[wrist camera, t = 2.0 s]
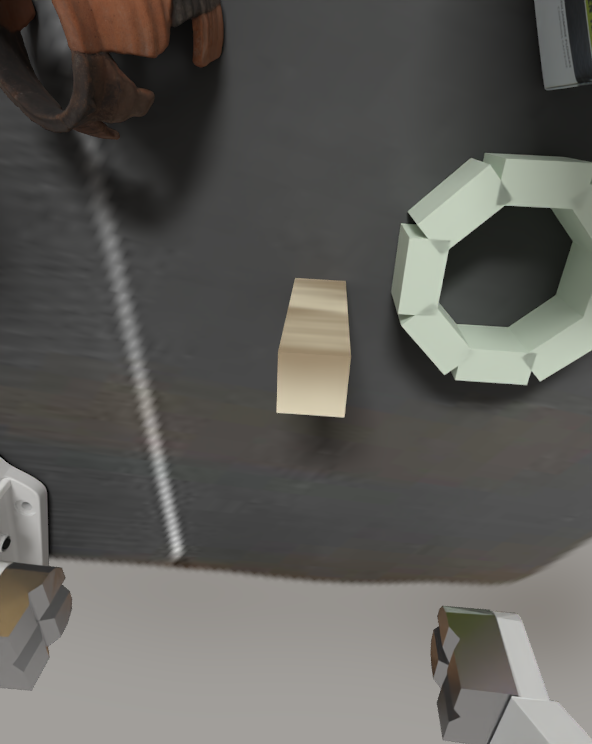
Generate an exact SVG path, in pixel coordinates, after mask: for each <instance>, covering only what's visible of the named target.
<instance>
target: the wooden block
mask: <svg viewBox="0 0 592 744" xmlns="http://www.w3.org/2000/svg"><path fill="white" fill-rule="evenodd" d="M350 361H351V351H350V337H349V322H348V308H347V294H346V281H335V280H318V279H302V278H295V281H294V286H293V290H292V294H291V299H290V303H289V307H288V312H287V316H286V320H285V325H284V329H283V333H282V338H281V342H280V346H279V351H278V380H277V413H289V414H303V415H317V416H330V417H344V416H345V407H346V398H347V389H348V379H349V370H350Z"/></svg>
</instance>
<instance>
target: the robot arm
mask: <svg viewBox="0 0 592 744" xmlns="http://www.w3.org/2000/svg"><path fill="white" fill-rule="evenodd" d="M64 580H65V575H64V572H63V570H62V568H60V567H51V566H49V549H48V506H47V490H46V488H45V486H44V485H43V484H42V483H41V482H40V481H38V480H37V479H35V478H34V477H32V476H30V475H29V474H27V473H25V472H23V471H21V470H19V469H17V468H15V467H13V466H11V465H10V464H8V463H7V462H6V461H5V460H3V459H2V458H1V457H0V688H8V689H20V690H32V689H33V687H34V685H35V683H36V681H37V680H38V678H39V676H40V674H41V672H42V671H43V669H44V667H45V665H46V663H47V661H48V660H49V650H48V646H49V645H51V644H52V643H53V642H55V641H56V640H57V639H58V638H60V637H61V635H62V633H63V632H64V630H65V628H66V626H67V624H68V621H69V617H70V613H71V609H72V597H71V594H70V591H69V590H68V589H67V588H65V587H64V586H63V585H62V583H63V581H64ZM437 617H438V623H439V627H437V628H436V629H434V630H433V635H432V639H431V666H432V673H433V679H434V680H435V682H436V683H437V684H438V685H439V687H440V688H441V691H440V694H439V697H438V700H437V707H438V713H439V719H440V725H441V732H442V738H443V740H445V741H452V742H459V743H465V744H592V738H591V737H590V736H589V735H588V734H587V733H586V732H585V731H584V730H583V729H582V727H581V726H580V725H579V724H578V723H577V722H576V721H575V720H574V719H573V717H572V716H571V715H570V714H569V713H568V712H567V711H566V710H565V709H564V708H563V706H562V705H561V704H560V703H559V702H558V701H552V700H550V699H549V696H548V694H547V690H546V688H545V685H544V682H543V679H542V676H541V673H540V670H539V667H538V665H537V662H536V659H535V656H534V653H533V650H532V648H531V644H530V642H529V639H528V636H527V633H526V630H525V627H524V624H523V622H522V619H521V618H520V616H519V615H518V614H516V613H511V612H498V611H490V610H486V609H474V608H462V607H449V606H442V607H441V608H440V609H439V612H438V616H437Z"/></svg>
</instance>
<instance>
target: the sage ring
mask: <svg viewBox="0 0 592 744" xmlns="http://www.w3.org/2000/svg"><path fill="white" fill-rule="evenodd" d="M504 206H523V207H542V208H551V209H552V211H553V212H554V214H555V215H556V217H557V218H558V220H559V221H560V223H561V224H562V226H563V227H564V229H565V230H566V232H567V233H568V235H569V236H570V238H571V240H572V241H573V242H572V245H571V248H570V251H569V255H568V258H567V261H566V264H565V267H564V270H563V274H562V277H561V280H560V283H559V286H558V289H557V293H556V295H555V296H554V297H552V298H551V299H549V300H548V301H546V302H545V303H543V304H542V305H540V306H539V307H537V308H536V309H534V310H533V311H531V312H530V313H528V314H527V315H525V316H524V317H522V318H521V319H519V320H518V321H517V322H515V323H514V324H512V325H511V326H509V327H496V326H481V325H465V324H456V323H455V322H454V321H453V319H452V318H451V317H450V316H449V314H448V313H447V312H446V311H445V310H444V308H443V307H442V306H441V305H440V303H439V298H440V293H441V287H442V282H443V277H444V272H445V267H446V262H447V257H448V251H449V249H450V248H451V247H453V246H454V245H455V244H456V243H458V242H459V241H460V240H462V239H463V238H464V237H465V236H467V235H468V234H469V233H471V232H472V231H473V230H474V229H476V228H477V227H478V226H479V225H481V224H482V223H483V222H485V221H486V220H487V219H488V218H490V217H491V216H492V215H494V214H495V213H496V212H497V211H499V210H500V209H501V208H503V207H504ZM408 213H409V214H410V216H411V217H412V218H413V220H414V221H415V222H416V224H403V223H401V226H400V233H399V240H398V247H397V254H396V261H395V268H394V275H393V282H392V289H391V294H392V297H393V300H394V304H395V307H396V311H397V314H398V317H399V320H400V323H401V326H402V327H403V328H404V329H405V331H406V332H407V333H408V334H409V335H410V336H411V337H412V339H413V340H414V341H415V342H416V343H417V344H418V345H419V347H420V348H421V349H422V350H423V351H424V352H425V353H426V355H427V356H428V357H429V358H430V359H431V360H432V362H433V363H434V364H435V365H436V366H437V367H438V368H439V370H440V371H441V372H442V373H443V374H444V375H445V374H447V373H448V372H450V371H451V372H452V374H453V377H454V379H455V380H461V381H475V382H490V383H504V384H519V385H527V383H528V380H529V377H530V374H531V371H532V372H533V373H534V375H535V376H536V377H537V378H538V380H539V381H542V380H544V379H545V378H547V377H549V376H550V375H552V374H553V373H555V372H557V371H558V370H560V369H562V368H563V367H565V366H567V365H568V364H570V363H571V362H573V361H575V360H576V359H578V358H580V357H581V356H583V355H585V354H586V353H588V352H589V351H591V350H592V162H588V161H583V160H578V159H573V158H568V157H559V156H539V155H518V154H498V153H485V154H484V159H483V162H481V161H478V160H475V159H473V158H470V159H469V160H468V161H467V162H465V163H464V164H463V165H462V166H461V167H459V168H458V169H457V170H456V171H455V172H454V173H452V174H451V175H450V176H449V177H448V178H446V179H445V180H444V181H443V182H442V183H441V184H439V185H438V186H437V187H436V188H435V189H433V190H432V191H431V192H430V193H429V194H428V195H426V196H425V197H424V198H423V199H422V200H420V201H419V202H418V203H417V204H416V205H415V206H413V207H412V208H411V209H410V210H409V211H408Z"/></svg>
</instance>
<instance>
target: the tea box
mask: <svg viewBox="0 0 592 744" xmlns="http://www.w3.org/2000/svg"><path fill="white" fill-rule="evenodd" d="M534 3H535V13H536V22H537V31H538V40H539V49H540V57H541V66H542V74H543V81H544V88H545V89H546V90H555V89H563V88H570V87H576V86H582V85H590V84H592V0H534Z"/></svg>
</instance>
